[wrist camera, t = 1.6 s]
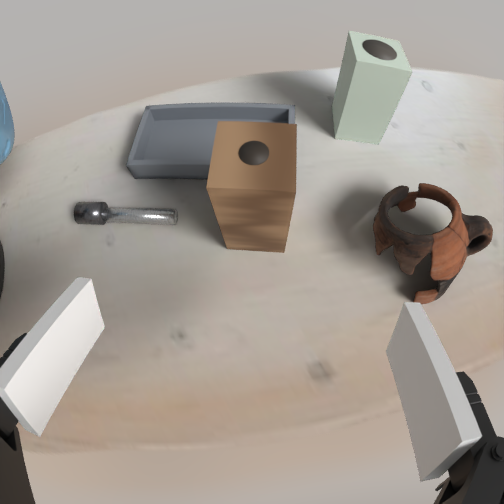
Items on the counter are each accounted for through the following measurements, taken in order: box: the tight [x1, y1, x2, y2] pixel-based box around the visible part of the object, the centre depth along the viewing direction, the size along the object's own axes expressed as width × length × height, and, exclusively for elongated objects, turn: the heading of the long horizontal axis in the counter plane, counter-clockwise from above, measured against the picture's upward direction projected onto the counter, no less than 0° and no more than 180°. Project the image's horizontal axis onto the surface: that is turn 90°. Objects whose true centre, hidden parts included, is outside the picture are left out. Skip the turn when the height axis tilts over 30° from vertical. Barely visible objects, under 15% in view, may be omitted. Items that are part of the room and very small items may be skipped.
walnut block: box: [206, 121, 297, 253], centre depth 23 cm, size 5×5×11 cm
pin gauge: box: [74, 202, 178, 225], centre depth 28 cm, size 10×2×2 cm, turn 86°
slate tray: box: [126, 103, 295, 179], centre depth 30 cm, size 16×8×3 cm, turn 86°
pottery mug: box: [373, 183, 493, 304], centre depth 25 cm, size 12×9×8 cm
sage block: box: [332, 31, 412, 145], centre depth 27 cm, size 5×5×11 cm
